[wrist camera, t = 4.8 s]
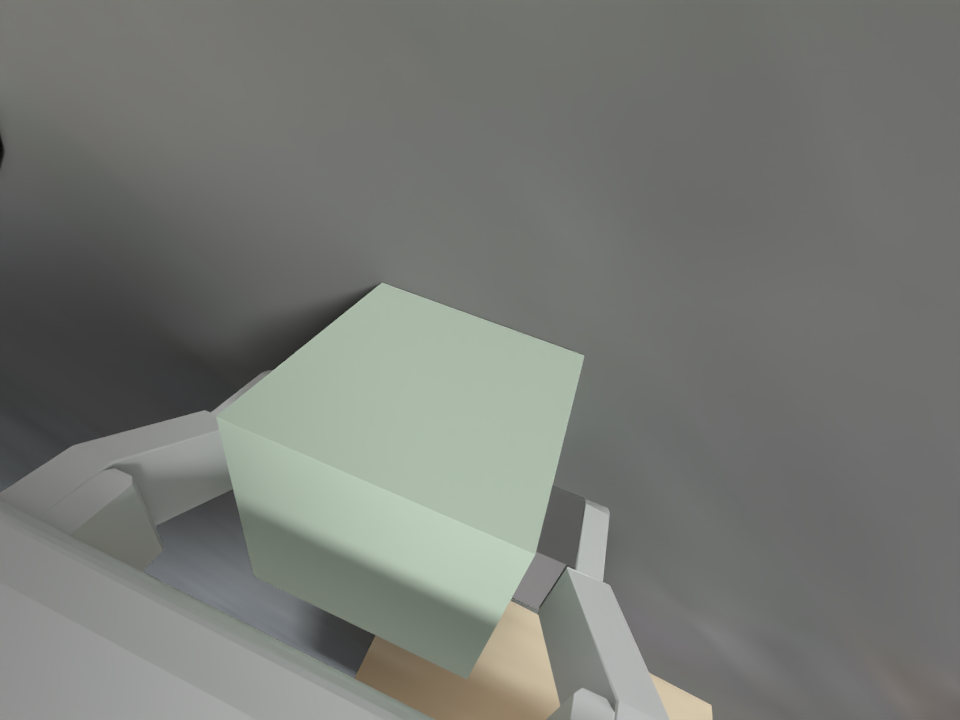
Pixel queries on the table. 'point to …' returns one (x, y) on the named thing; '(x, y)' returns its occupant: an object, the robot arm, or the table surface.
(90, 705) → the robot arm
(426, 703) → the beech block
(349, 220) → the table surface
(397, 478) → the sage cube
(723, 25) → the table surface
